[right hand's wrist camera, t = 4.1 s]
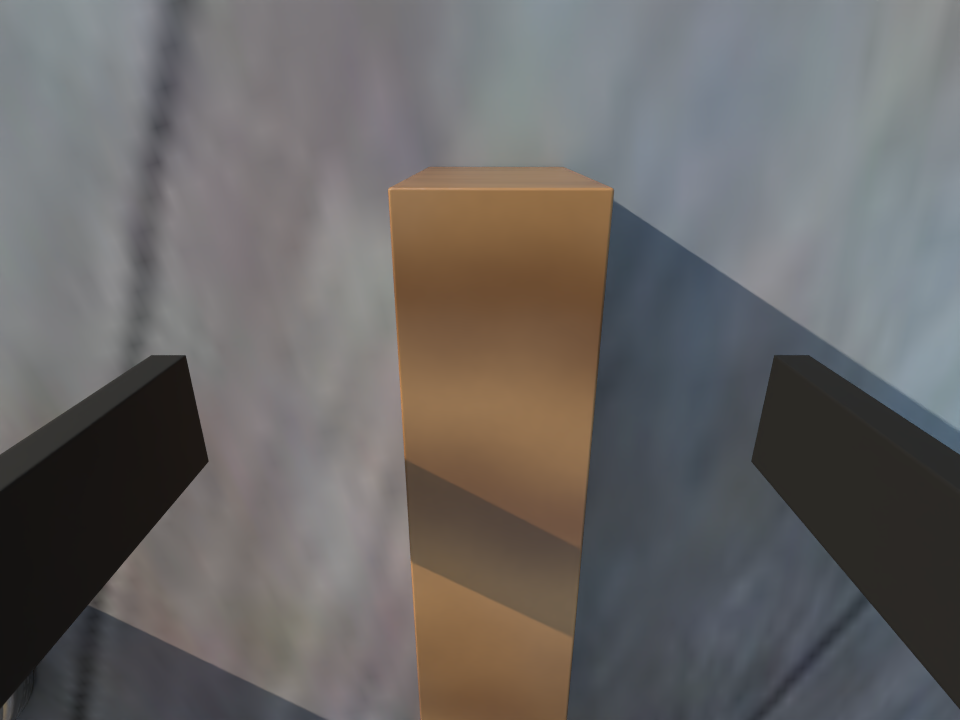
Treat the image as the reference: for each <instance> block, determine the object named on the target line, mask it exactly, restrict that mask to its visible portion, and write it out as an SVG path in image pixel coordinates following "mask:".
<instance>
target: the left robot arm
mask: <svg viewBox="0 0 960 720" xmlns="http://www.w3.org/2000/svg"><path fill="white" fill-rule="evenodd" d="M32 687H33V671H32V672H31V673H30V674H29V675H28V677H27V678H26V679H25V680H24V681H23V683H22V684H21V685H20V686H19V687H18V689H17V690H16V691H15V692H14V693H13V694H12V696H11V697H10V698H9V699H8V700H7V702H6V703H5V704H4V705H3V706H2V708H1V709H0V720H16V718H17V717H18V716H19V715H20V713H21V712H22V711H23V709H24V708H25V706H26V704H27V702H28V700H29V698H30V695H31V691H32Z"/></svg>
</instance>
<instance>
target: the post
mask: <svg viewBox="0 0 960 720" xmlns="http://www.w3.org/2000/svg"><path fill="white" fill-rule="evenodd" d="M388 195H389V212H390V228H391V244H392V261H393V277H394V293H395V310H396V326H397V342H398V359H399V375H400V391H401V408H402V424H403V440H404V457H405V473H406V490H407V506H408V522H409V539H410V555H411V571H412V588H413V604H414V620H415V637H416V653H417V669H418V686H419V702H420V718H421V720H567V712H568V701H569V689H570V678H571V667H572V656H573V645H574V633H575V622H576V611H577V600H578V589H579V577H580V566H581V555H582V544H583V533H584V521H585V510H586V499H587V488H588V477H589V465H590V454H591V443H592V432H593V421H594V409H595V398H596V387H597V376H598V365H599V353H600V342H601V331H602V320H603V309H604V297H605V286H606V275H607V264H608V253H609V241H610V230H611V219H612V208H613V197H614V189H613V188H611V187H608V186H606V185H604V184H601V183H599V182H597V181H595V180H592V179H590V178H588V177H585V176H583V175H581V174H578V173H576V172H574V171H571V170H569V169H567V168H565V167H428V168H426V169H425V170H423V171H421V172H419V173H417V174H415V175H413V176H411V177H409V178H408V179H406V180H404V181H402V182H400V183H398V184H396V185H394V186H392V187H391V188H389V190H388Z"/></svg>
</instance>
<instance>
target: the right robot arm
mask: <svg viewBox="0 0 960 720" xmlns="http://www.w3.org/2000/svg"><path fill="white" fill-rule="evenodd" d="M208 462H209V461H208V456H207V452H206V447H205V443H204V438H203V433H202V429H201V424H200V419H199V415H198V410H197V406H196V401H195V396H194V392H193V387H192V382H191V378H190V373H189V369H188V364H187V359H186V355H151V356H150V357H148V358H147V359H145V360H144V361H142V362H140V363H139V364H137V365H136V366H134V367H133V368H131V369H130V370H128V371H127V372H125V373H124V374H122V375H121V376H119V377H118V378H116V379H115V380H113V381H112V382H110V383H109V384H107V385H106V386H104V387H102V388H101V389H99V390H98V391H96V392H95V393H93V394H92V395H90V396H89V397H87V398H86V399H84V400H83V401H81V402H80V403H78V404H77V405H75V406H74V407H72V408H71V409H69V410H68V411H66V412H64V413H63V414H61V415H60V416H58V417H57V418H55V419H54V420H52V421H51V422H49V423H48V424H46V425H45V426H43V427H42V428H40V429H39V430H37V431H36V432H34V433H33V434H31V435H30V436H28V437H27V438H25V439H23V440H22V441H20V442H19V443H17V444H16V445H14V446H13V447H11V448H10V449H8V450H7V451H5V452H4V453H2V454H1V455H0V709H1V708H2V706H3V705H4V704H5V703H6V702H7V700H8V699H9V698H10V697H11V696H12V694H13V693H14V692H15V691H16V690H17V689H18V687H19V686H20V685H21V684H22V683H23V681H24V680H25V679H26V678H27V677H28V675H29V674H30V673H31V672H32V671H33V669H34V668H35V667H36V666H37V665H38V664H39V662H40V661H41V660H42V659H43V658H44V656H45V655H46V654H47V653H48V652H49V650H50V649H51V648H52V647H53V646H54V645H55V643H56V642H57V641H58V640H59V639H60V637H61V636H62V635H63V634H64V633H65V631H66V630H67V629H68V628H69V627H70V626H71V624H72V623H73V622H74V621H75V620H76V618H77V617H78V616H79V615H80V614H81V612H82V611H83V610H84V609H85V608H86V607H87V605H88V604H89V603H90V602H91V601H92V599H93V598H94V597H95V596H96V595H97V593H98V592H99V591H100V590H101V589H102V588H103V586H104V585H105V584H106V583H107V582H108V580H109V579H110V578H111V577H112V576H113V574H114V573H115V572H116V571H117V570H118V569H119V567H120V566H121V565H122V564H123V563H124V561H125V560H126V559H127V558H128V557H129V555H130V554H131V553H132V552H133V551H134V550H135V548H136V547H137V546H138V545H139V544H140V542H141V541H142V540H143V539H144V538H145V536H146V535H147V534H148V533H149V532H150V530H151V529H152V528H153V527H154V526H155V525H156V523H157V522H158V521H159V520H160V519H161V517H162V516H163V515H164V514H165V513H166V511H167V510H168V509H169V508H170V507H171V506H172V504H173V503H174V502H175V501H176V500H177V498H178V497H179V496H180V495H181V494H182V492H183V491H184V490H185V489H186V488H187V487H188V485H189V484H190V483H191V482H192V481H193V479H194V478H195V477H196V476H197V475H198V473H199V472H200V471H201V470H202V469H203V468H204V466H205V465H206V464H207V463H208ZM751 462H752V463H753V464H754V465H755V466H756V468H757V469H758V470H759V471H760V472H761V473H762V475H763V476H764V477H765V478H766V479H767V481H768V482H769V483H770V484H771V485H772V487H773V488H774V489H775V490H776V491H777V492H778V494H779V495H780V496H781V497H782V498H783V500H784V501H785V502H786V503H787V504H788V506H789V507H790V508H791V509H792V510H793V511H794V513H795V514H796V515H797V516H798V517H799V519H800V520H801V521H802V522H803V523H804V525H805V526H806V527H807V528H808V529H809V530H810V532H811V533H812V534H813V535H814V536H815V538H816V539H817V540H818V541H819V542H820V544H821V545H822V546H823V547H824V548H825V550H826V551H827V552H828V553H829V554H830V555H831V557H832V558H833V559H834V560H835V561H836V563H837V564H838V565H839V566H840V567H841V569H842V570H843V571H844V572H845V573H846V574H847V576H848V577H849V578H850V579H851V580H852V582H853V583H854V584H855V585H856V586H857V588H858V589H859V590H860V591H861V592H862V593H863V595H864V596H865V597H866V598H867V599H868V601H869V602H870V603H871V604H872V605H873V607H874V608H875V609H876V610H877V611H878V612H879V614H880V615H881V616H882V617H883V618H884V620H885V621H886V622H887V623H888V624H889V626H890V627H891V628H892V629H893V630H894V631H895V633H896V634H897V635H898V636H899V637H900V639H901V640H902V641H903V642H904V643H905V645H906V646H907V647H908V648H909V649H910V650H911V652H912V653H913V654H914V655H915V656H916V658H917V659H918V660H919V661H920V662H921V664H922V665H923V666H924V667H925V668H926V670H927V671H928V672H929V673H930V674H931V675H932V677H933V678H934V679H935V680H936V681H937V683H938V684H939V685H940V686H941V687H942V689H943V690H944V691H945V692H946V693H947V694H948V696H949V697H950V698H951V699H952V700H953V702H954V703H955V704H956V705H957V706H958V708H959V709H960V455H959V454H958V453H956V452H955V451H953V450H952V449H950V448H949V447H947V446H946V445H944V444H943V443H941V442H940V441H938V440H937V439H935V438H933V437H932V436H930V435H929V434H927V433H926V432H924V431H923V430H921V429H920V428H918V427H917V426H915V425H914V424H912V423H911V422H909V421H908V420H906V419H905V418H903V417H902V416H900V415H899V414H897V413H895V412H894V411H892V410H891V409H889V408H888V407H886V406H885V405H883V404H882V403H880V402H879V401H877V400H876V399H874V398H873V397H871V396H870V395H868V394H867V393H865V392H864V391H862V390H861V389H859V388H858V387H856V386H854V385H853V384H851V383H850V382H848V381H847V380H845V379H844V378H842V377H841V376H839V375H838V374H836V373H835V372H833V371H832V370H830V369H829V368H827V367H826V366H824V365H823V364H821V363H820V362H818V361H816V360H815V359H813V358H812V357H810V356H809V355H774V359H773V364H772V369H771V373H770V378H769V382H768V387H767V392H766V396H765V401H764V406H763V410H762V415H761V419H760V424H759V429H758V433H757V438H756V443H755V447H754V452H753V456H752V461H751Z"/></svg>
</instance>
